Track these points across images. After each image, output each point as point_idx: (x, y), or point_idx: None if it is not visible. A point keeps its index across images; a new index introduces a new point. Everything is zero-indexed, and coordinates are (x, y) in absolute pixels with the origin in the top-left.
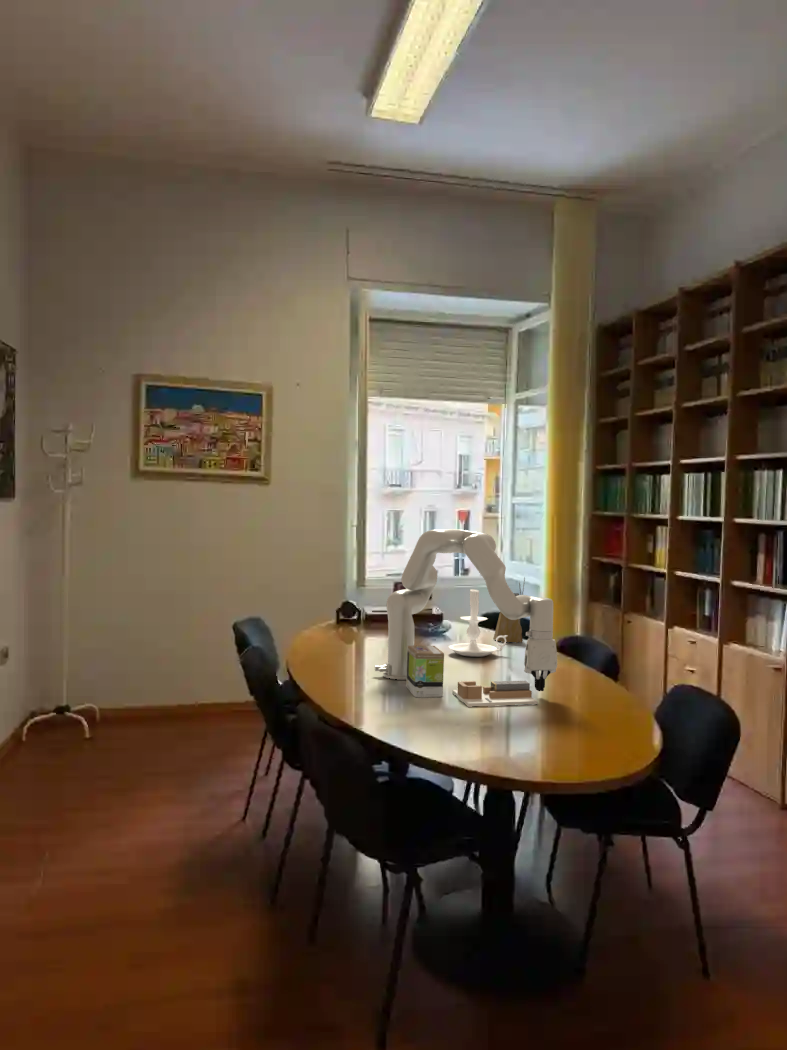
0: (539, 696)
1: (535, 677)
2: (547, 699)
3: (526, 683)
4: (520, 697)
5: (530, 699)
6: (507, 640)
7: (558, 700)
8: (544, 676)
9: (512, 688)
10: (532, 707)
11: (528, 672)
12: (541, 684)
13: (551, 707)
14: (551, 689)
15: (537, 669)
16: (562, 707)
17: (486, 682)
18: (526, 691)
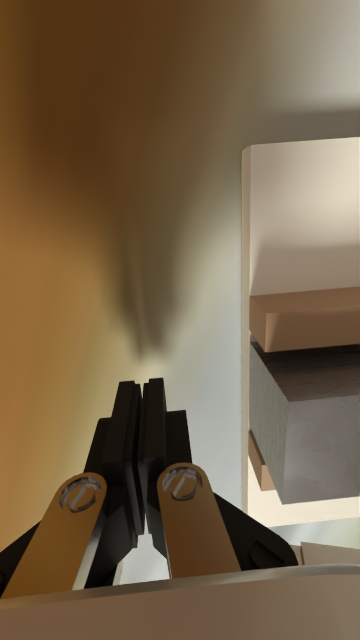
0: None
1: (213, 492)
2: (101, 327)
3: (327, 398)
4: (347, 287)
5: (292, 214)
6: None
7: (17, 295)
8: (84, 504)
9: None
10: (323, 50)
11: (348, 562)
12: (135, 424)
13: (137, 32)
14: None
15: (263, 588)
16: (21, 20)
17: None
18: (319, 308)
